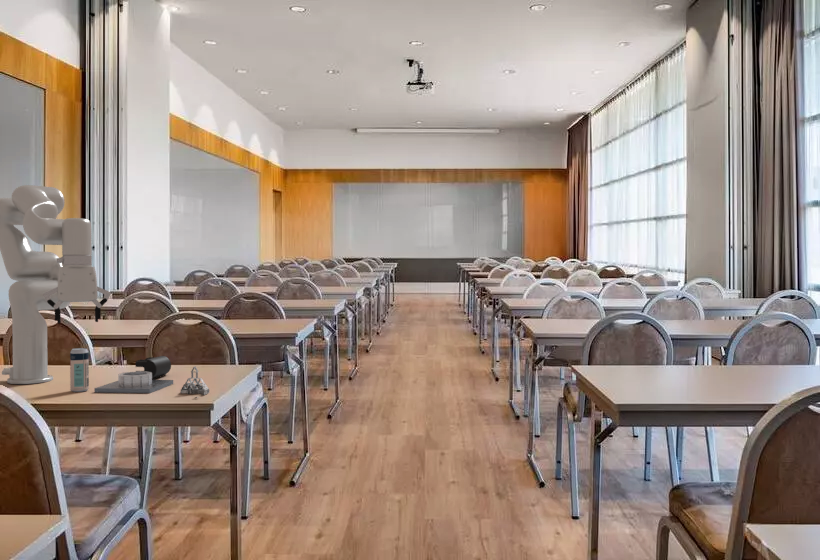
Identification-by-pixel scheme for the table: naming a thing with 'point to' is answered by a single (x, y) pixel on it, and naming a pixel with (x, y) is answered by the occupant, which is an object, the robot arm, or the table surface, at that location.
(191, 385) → the house of cards
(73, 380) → the beer can
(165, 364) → the end cap
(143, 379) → the grey square plate
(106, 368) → the table surface
